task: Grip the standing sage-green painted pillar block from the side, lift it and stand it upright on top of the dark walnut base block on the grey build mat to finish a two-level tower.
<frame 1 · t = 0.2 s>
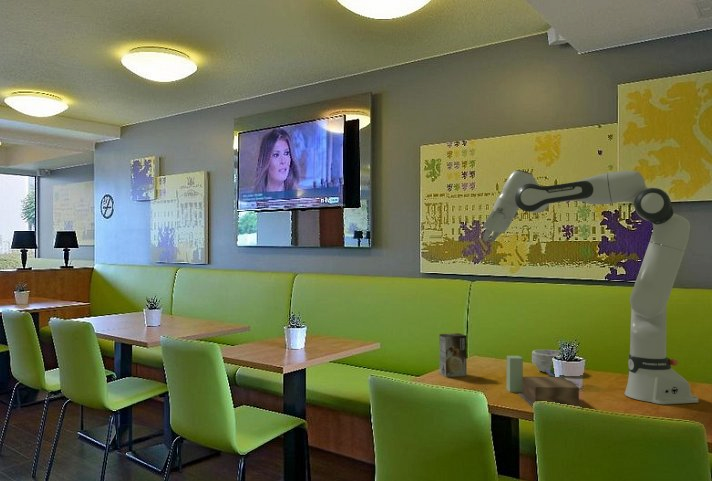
hand: (488, 240, 221), 53 cm above the table, tool tilted 25°, fingers open, 8 cm apart
coffee box: (452, 375, 224), on the table
geometric puzzle: (555, 381, 216), on the table
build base: (549, 401, 188), on the table
pillar: (514, 390, 201), on the table
paper bowls: (551, 371, 232), on the table
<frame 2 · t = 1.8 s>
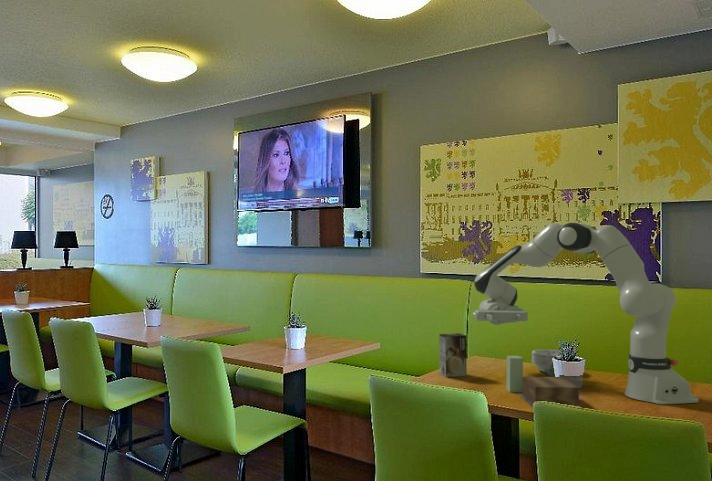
hand: (505, 318, 213), 24 cm above the table, tool horizontal, fingers open, 8 cm apart
nothing on the table moved.
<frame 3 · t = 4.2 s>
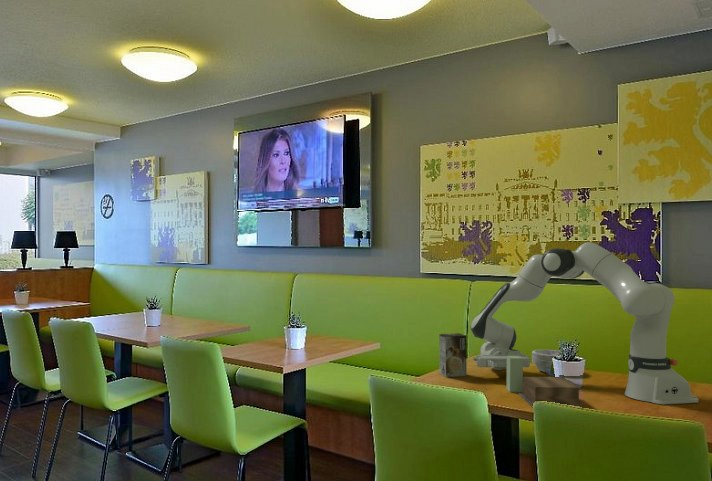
hand: (507, 365, 211), 7 cm above the table, tool horizontal, fingers open, 8 cm apart
nothing on the table moved.
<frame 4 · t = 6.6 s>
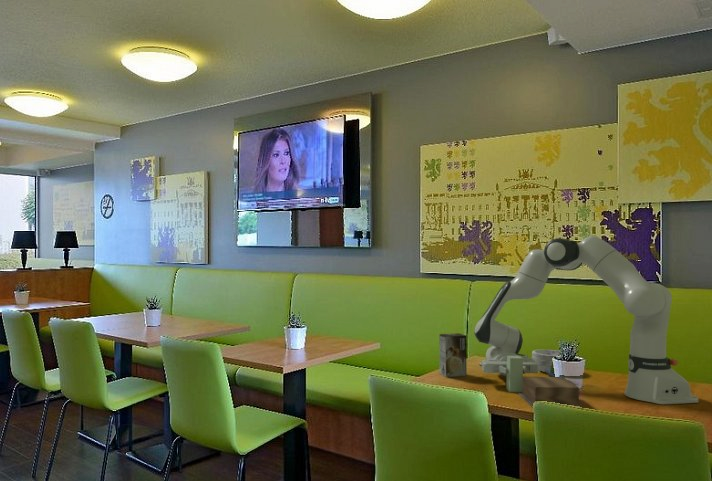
hand: (515, 371, 201), 7 cm above the table, tool horizontal, fingers closed on pillar, 4 cm apart
pillar: (514, 390, 201), on the table, touching gripper
everything else where it was.
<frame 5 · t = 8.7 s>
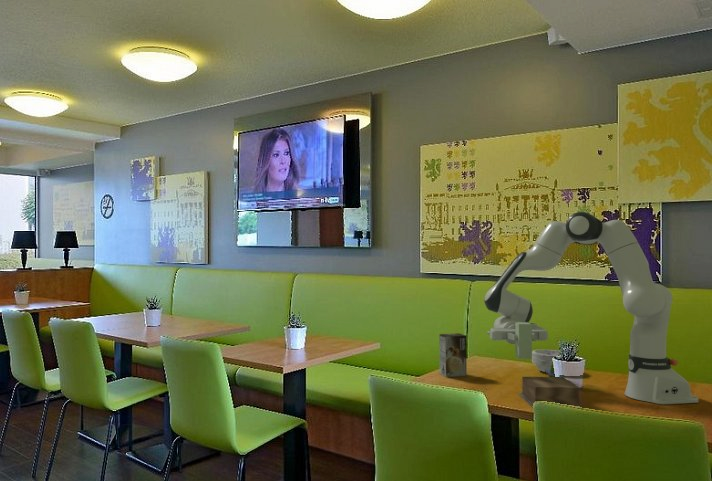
hand: (524, 337, 197), 20 cm above the table, tool horizontal, fingers closed on pillar, 4 cm apart
pillar: (523, 357, 198), point 13 cm above the table, touching gripper
everything else where it was.
when the fingers open (15 cm above the table, at t = 11.1 s): pillar drops 1 cm, resting on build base.
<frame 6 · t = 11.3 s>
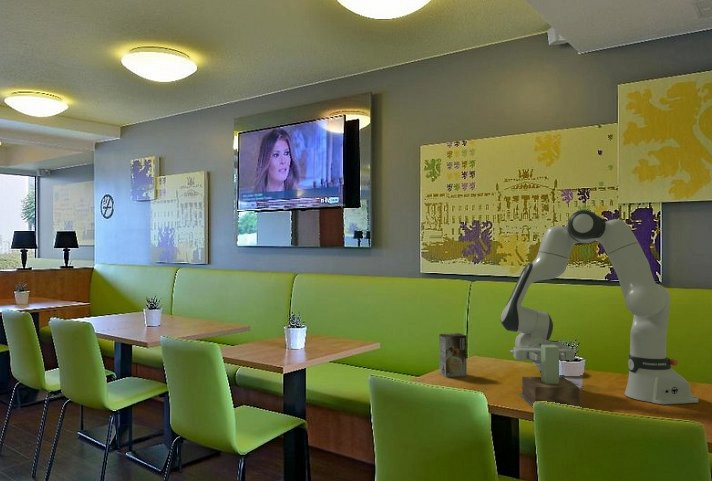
hand: (550, 358, 188), 15 cm above the table, tool horizontal, fingers open, 7 cm apart
pillar: (549, 381, 188), point 6 cm above the table, touching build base
everything else where it was.
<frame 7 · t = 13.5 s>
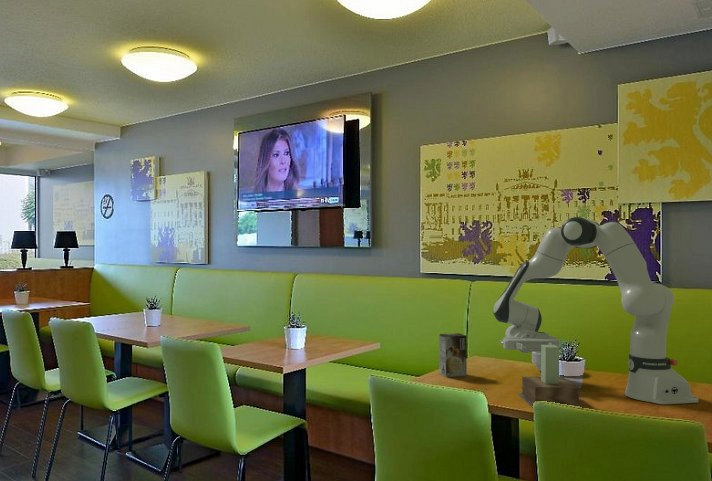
hand: (537, 347, 202), 15 cm above the table, tool horizontal, fingers open, 8 cm apart
nothing on the table moved.
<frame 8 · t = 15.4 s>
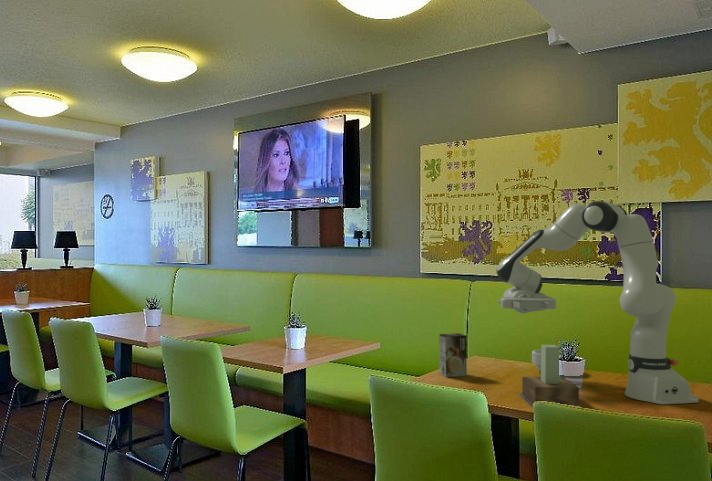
hand: (533, 305, 206), 30 cm above the table, tool horizontal, fingers open, 8 cm apart
nothing on the table moved.
at the end: pillar inside the target area on the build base (0.0 cm from its centre), point 6.4 cm above the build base's base; pillar tilted 0°; the gripper is holding nothing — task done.
